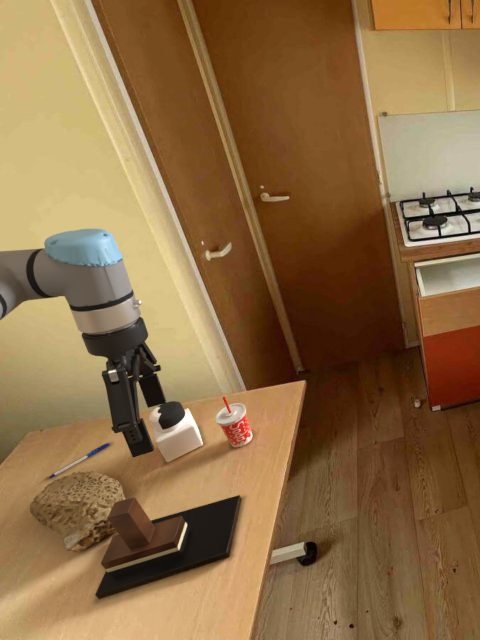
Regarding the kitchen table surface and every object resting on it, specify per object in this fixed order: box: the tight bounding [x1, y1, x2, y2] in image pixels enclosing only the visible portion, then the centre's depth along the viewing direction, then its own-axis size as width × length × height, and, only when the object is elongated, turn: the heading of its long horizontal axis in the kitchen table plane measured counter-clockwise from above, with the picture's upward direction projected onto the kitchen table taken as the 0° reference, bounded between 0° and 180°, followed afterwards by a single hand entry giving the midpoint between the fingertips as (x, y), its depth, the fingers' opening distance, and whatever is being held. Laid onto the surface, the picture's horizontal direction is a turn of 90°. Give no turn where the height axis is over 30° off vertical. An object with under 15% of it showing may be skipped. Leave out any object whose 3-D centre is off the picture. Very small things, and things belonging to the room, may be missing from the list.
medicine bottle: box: [148, 400, 204, 463], centre depth 98 cm, size 7×7×12 cm
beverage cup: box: [214, 396, 253, 448], centre depth 99 cm, size 6×6×14 cm
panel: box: [94, 494, 243, 600], centre depth 81 cm, size 20×12×2 cm, turn 110°
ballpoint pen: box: [49, 442, 111, 479], centre depth 97 cm, size 10×1×1 cm, turn 147°
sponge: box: [29, 470, 126, 553], centre depth 85 cm, size 13×8×20 cm
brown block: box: [100, 496, 187, 572], centre depth 77 cm, size 11×5×12 cm, turn 110°
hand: (151, 427), depth 76 cm, fingers open, 13 cm apart
